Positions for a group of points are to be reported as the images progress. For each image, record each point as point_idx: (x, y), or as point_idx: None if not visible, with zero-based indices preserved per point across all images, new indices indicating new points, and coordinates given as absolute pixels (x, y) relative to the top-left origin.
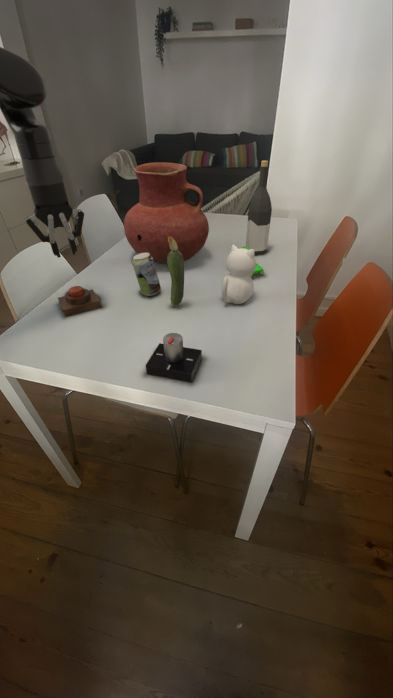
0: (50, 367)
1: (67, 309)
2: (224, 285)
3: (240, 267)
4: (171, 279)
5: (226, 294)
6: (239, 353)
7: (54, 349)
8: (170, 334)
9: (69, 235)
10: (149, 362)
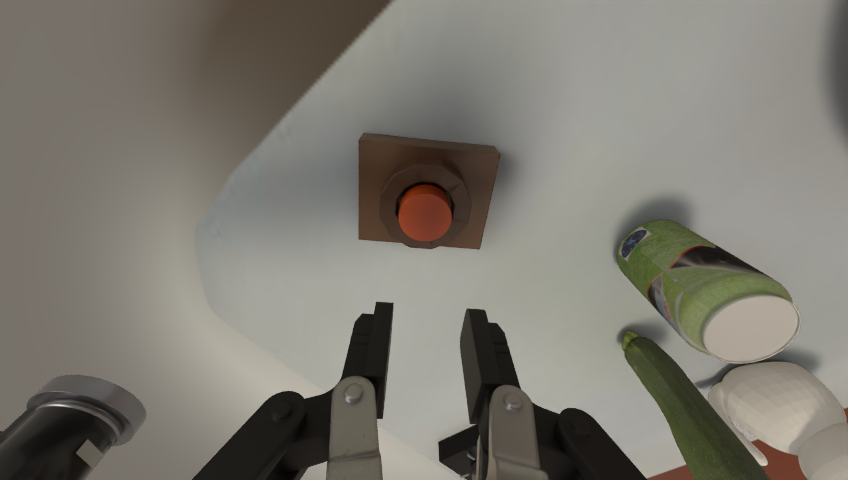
0: (301, 372)
1: (372, 239)
2: None
3: None
4: (674, 405)
5: None
6: None
7: (314, 334)
8: None
9: (486, 466)
10: (447, 460)
